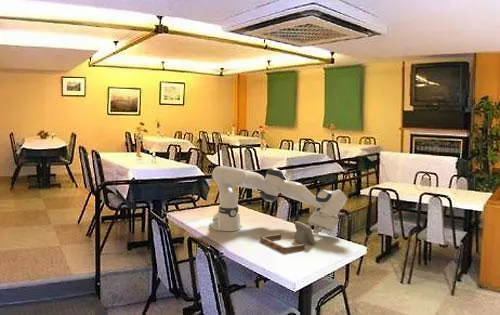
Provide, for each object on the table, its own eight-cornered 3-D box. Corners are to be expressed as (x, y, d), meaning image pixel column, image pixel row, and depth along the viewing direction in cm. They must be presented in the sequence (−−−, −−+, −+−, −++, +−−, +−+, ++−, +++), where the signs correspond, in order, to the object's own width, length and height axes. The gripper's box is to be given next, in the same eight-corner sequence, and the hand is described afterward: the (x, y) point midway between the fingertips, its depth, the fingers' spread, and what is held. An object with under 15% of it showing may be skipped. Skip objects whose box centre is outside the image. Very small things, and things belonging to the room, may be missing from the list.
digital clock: (316, 245, 251) (316, 226, 250) (300, 246, 249) (301, 227, 248) (306, 237, 267) (306, 219, 265) (291, 238, 265) (292, 220, 263)
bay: (260, 241, 257) (260, 236, 257) (279, 238, 264) (279, 233, 264) (284, 253, 237) (284, 248, 236) (304, 249, 244) (304, 244, 243)
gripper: (343, 221, 256) (329, 240, 252) (320, 213, 273) (307, 231, 270) (337, 214, 253) (323, 234, 249) (314, 207, 271) (301, 225, 267)
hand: (314, 233), depth 260 cm, fingers closed
